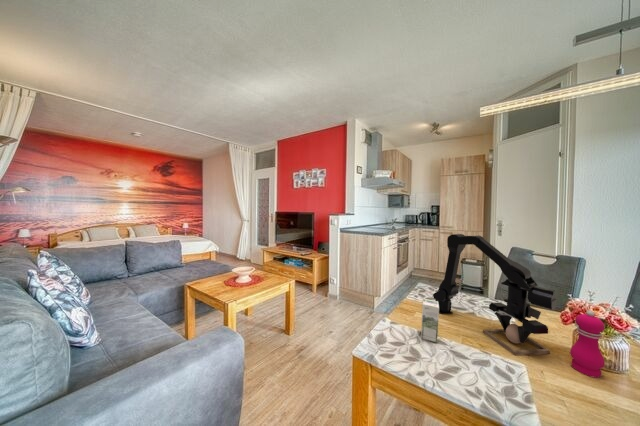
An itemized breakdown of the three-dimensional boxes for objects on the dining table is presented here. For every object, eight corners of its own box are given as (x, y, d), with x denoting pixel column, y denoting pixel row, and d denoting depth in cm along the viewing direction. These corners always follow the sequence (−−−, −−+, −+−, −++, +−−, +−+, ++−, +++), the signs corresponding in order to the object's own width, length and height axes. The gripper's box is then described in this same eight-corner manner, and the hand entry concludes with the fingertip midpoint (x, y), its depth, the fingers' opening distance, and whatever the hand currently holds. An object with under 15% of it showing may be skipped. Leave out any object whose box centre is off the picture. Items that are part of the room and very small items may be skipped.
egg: (504, 342, 87) (505, 324, 86) (505, 336, 90) (506, 319, 90) (523, 348, 83) (524, 329, 83) (523, 342, 87) (524, 324, 86)
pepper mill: (591, 365, 75) (596, 307, 74) (610, 381, 68) (616, 318, 67) (563, 360, 77) (567, 304, 76) (579, 375, 70) (584, 314, 69)
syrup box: (436, 335, 90) (438, 300, 89) (437, 343, 85) (439, 306, 84) (421, 331, 93) (422, 297, 92) (421, 339, 87) (422, 303, 87)
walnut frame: (514, 355, 79) (515, 352, 79) (482, 332, 93) (482, 329, 93) (550, 353, 80) (550, 350, 80) (513, 331, 94) (513, 328, 94)
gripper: (563, 310, 77) (560, 353, 78) (512, 289, 96) (510, 324, 97) (535, 310, 76) (531, 354, 77) (489, 289, 95) (486, 324, 96)
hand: (514, 337), depth 87 cm, fingers open, 6 cm apart
